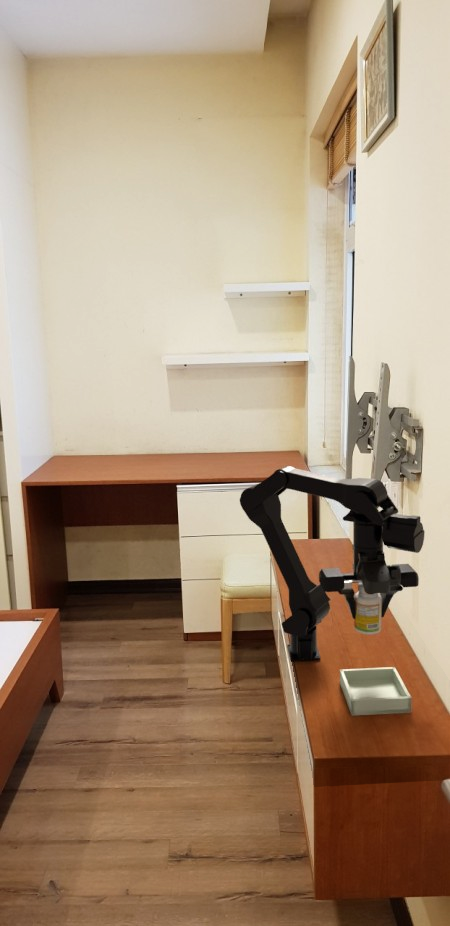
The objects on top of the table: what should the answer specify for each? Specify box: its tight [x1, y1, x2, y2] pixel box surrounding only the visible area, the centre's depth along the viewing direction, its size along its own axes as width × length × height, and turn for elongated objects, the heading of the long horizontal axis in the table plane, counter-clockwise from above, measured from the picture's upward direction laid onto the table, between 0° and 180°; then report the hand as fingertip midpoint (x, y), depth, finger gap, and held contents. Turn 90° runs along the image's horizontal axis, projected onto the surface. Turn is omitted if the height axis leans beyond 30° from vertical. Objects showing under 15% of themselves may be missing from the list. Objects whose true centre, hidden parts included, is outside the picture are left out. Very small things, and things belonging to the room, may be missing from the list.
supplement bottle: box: [353, 582, 383, 635], centre depth 133 cm, size 5×5×10 cm
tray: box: [339, 666, 412, 717], centre depth 127 cm, size 11×11×3 cm
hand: (367, 617), depth 133 cm, fingers closed on supplement bottle, 5 cm apart
